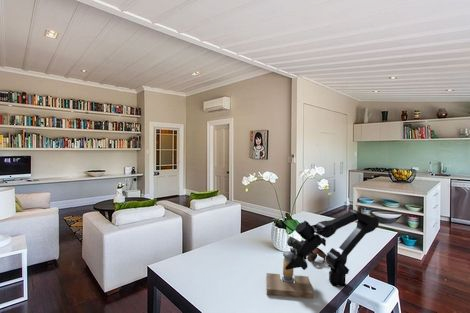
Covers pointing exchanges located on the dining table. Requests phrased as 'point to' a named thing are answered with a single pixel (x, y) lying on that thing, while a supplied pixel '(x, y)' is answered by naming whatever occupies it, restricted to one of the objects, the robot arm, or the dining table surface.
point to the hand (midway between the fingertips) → (285, 266)
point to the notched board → (289, 286)
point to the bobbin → (289, 273)
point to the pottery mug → (314, 255)
